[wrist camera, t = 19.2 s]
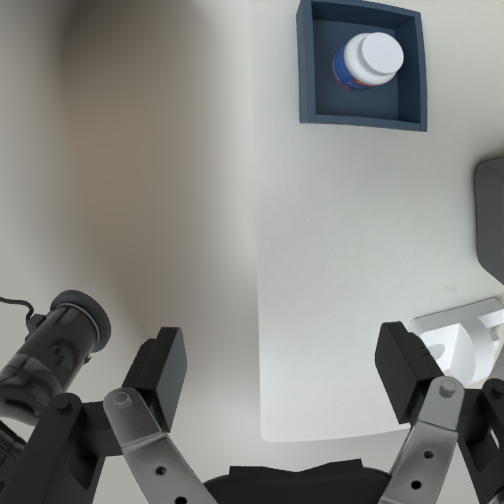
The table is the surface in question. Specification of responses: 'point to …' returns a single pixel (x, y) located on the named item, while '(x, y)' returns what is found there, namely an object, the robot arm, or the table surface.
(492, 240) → the alarm clock
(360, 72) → the pill bottle
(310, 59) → the open box
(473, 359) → the white slotted bracket
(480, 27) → the table surface
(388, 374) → the robot arm
